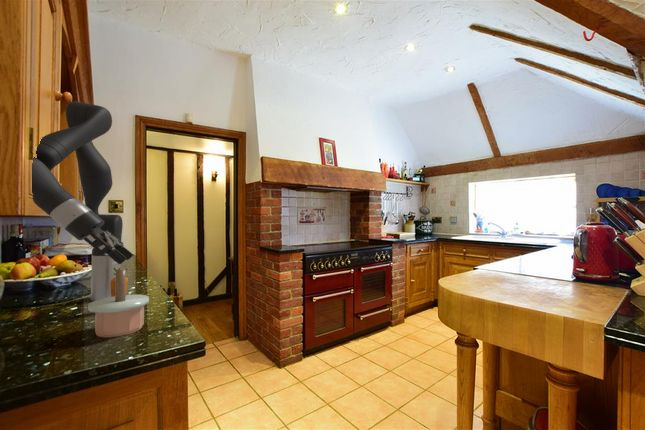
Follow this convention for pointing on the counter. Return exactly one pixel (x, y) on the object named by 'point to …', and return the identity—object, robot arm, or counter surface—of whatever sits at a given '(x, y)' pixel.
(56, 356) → the counter surface
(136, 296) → the celadon lid
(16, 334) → the counter surface
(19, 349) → the counter surface
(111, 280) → the carrot
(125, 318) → the terracotta pot
